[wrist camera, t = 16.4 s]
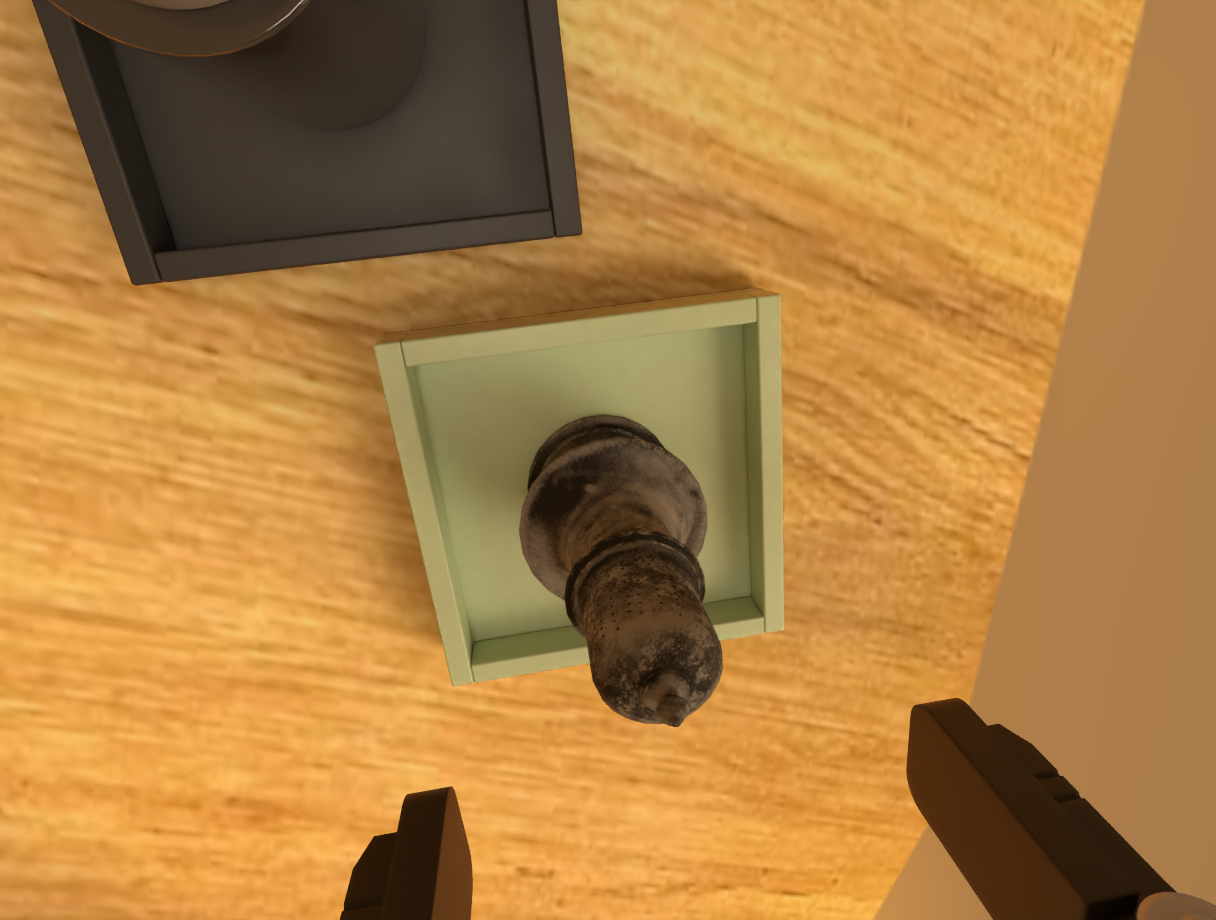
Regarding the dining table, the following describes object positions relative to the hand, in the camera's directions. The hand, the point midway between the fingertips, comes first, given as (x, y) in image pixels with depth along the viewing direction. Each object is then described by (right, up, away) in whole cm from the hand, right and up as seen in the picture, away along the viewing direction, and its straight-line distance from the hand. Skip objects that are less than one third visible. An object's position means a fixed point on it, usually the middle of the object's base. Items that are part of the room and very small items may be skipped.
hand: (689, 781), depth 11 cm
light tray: (-2, +5, +13) cm, 14 cm away
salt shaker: (-2, +5, +12) cm, 13 cm away
